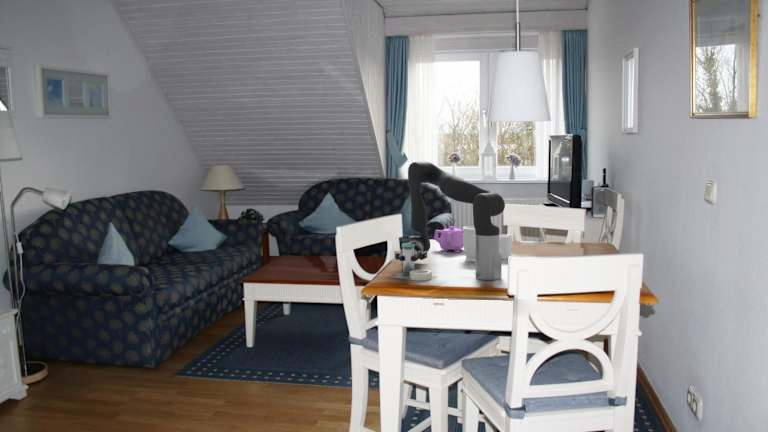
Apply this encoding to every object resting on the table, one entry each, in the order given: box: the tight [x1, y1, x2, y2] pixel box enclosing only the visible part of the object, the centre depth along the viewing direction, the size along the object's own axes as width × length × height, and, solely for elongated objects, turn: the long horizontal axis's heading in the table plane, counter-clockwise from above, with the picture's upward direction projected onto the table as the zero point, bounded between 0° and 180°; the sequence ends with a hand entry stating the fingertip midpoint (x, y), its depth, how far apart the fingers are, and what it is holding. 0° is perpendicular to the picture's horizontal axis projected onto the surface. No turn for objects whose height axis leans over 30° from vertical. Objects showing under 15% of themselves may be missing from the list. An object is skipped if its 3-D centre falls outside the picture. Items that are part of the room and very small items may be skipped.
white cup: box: [499, 233, 513, 260], centre depth 309 cm, size 8×8×10 cm
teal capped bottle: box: [401, 242, 415, 275], centre depth 272 cm, size 5×5×12 cm
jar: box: [462, 225, 476, 263], centre depth 303 cm, size 11×10×15 cm
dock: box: [390, 269, 438, 283], centre depth 269 cm, size 16×10×4 cm, turn 55°
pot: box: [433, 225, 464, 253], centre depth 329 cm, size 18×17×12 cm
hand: (407, 258), depth 270 cm, fingers closed on teal capped bottle, 4 cm apart
